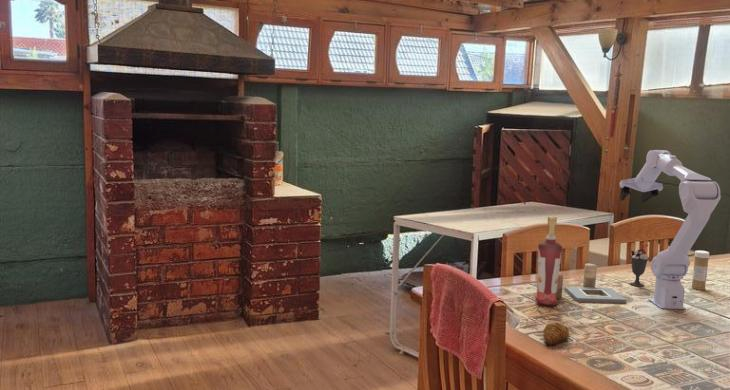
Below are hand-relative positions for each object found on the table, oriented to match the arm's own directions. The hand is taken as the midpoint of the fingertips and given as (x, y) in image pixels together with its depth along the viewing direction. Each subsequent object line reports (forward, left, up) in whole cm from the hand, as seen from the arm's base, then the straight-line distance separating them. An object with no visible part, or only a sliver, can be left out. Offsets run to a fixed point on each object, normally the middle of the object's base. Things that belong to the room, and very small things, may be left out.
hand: (631, 199), depth 231 cm
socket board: (-22, +19, -30) cm, 42 cm away
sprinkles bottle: (-8, -23, -30) cm, 39 cm away
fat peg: (-22, +34, -30) cm, 50 cm away
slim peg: (-11, +17, -30) cm, 36 cm away
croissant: (-63, +44, -31) cm, 83 cm away
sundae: (-6, -2, -30) cm, 31 cm away
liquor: (-32, +38, -30) cm, 58 cm away
